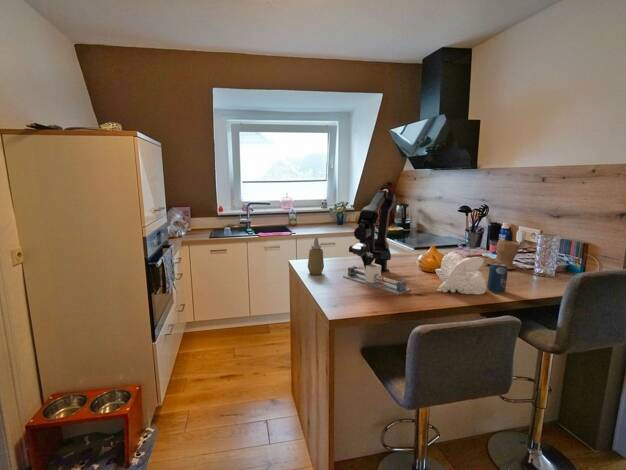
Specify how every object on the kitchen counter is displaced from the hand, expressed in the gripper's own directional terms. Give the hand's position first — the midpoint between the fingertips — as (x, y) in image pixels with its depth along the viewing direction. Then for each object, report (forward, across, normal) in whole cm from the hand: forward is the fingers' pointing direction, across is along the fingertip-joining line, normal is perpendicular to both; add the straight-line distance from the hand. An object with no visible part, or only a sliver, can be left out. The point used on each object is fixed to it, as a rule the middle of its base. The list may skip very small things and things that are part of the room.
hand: (366, 270), depth 161 cm
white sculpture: (+5, +33, +21) cm, 40 cm away
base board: (+5, +5, 0) cm, 7 cm away
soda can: (+5, +44, +33) cm, 55 cm away
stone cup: (+5, +28, +77) cm, 83 cm away
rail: (+5, +5, 0) cm, 7 cm away
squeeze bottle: (+5, -23, -11) cm, 26 cm away
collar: (+5, +4, 0) cm, 6 cm away
